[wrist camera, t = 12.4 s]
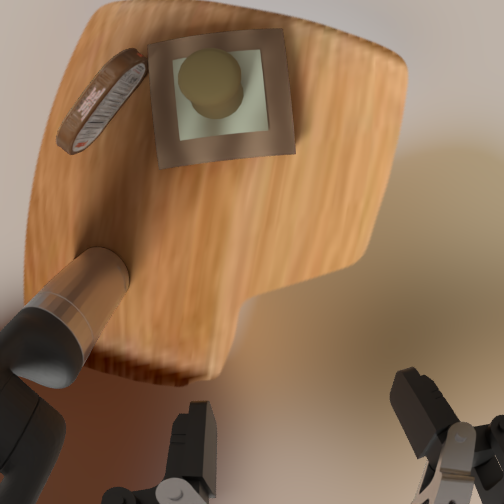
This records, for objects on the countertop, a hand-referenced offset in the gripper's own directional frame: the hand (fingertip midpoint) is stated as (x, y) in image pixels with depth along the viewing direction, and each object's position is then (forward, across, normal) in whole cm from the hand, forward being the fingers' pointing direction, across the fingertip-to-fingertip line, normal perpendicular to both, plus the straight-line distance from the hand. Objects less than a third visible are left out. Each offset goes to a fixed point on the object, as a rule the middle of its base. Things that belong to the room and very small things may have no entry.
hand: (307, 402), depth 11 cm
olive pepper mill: (+26, +3, -16) cm, 31 cm away
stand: (+30, +3, -16) cm, 34 cm away
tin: (+30, +17, -18) cm, 39 cm away
